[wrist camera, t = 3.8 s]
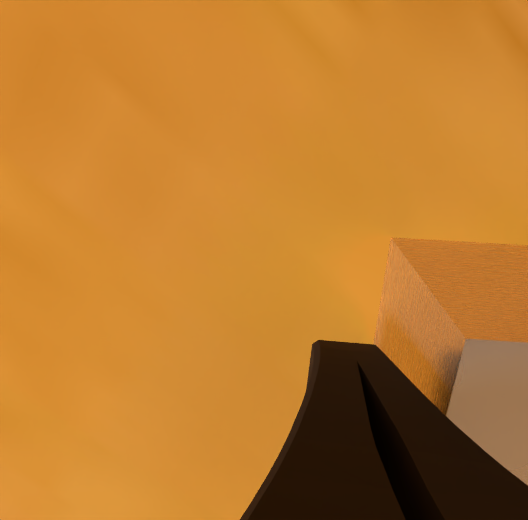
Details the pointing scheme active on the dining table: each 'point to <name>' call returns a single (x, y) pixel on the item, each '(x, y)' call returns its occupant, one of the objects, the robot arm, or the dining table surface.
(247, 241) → the dining table surface
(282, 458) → the robot arm
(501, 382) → the lock block
